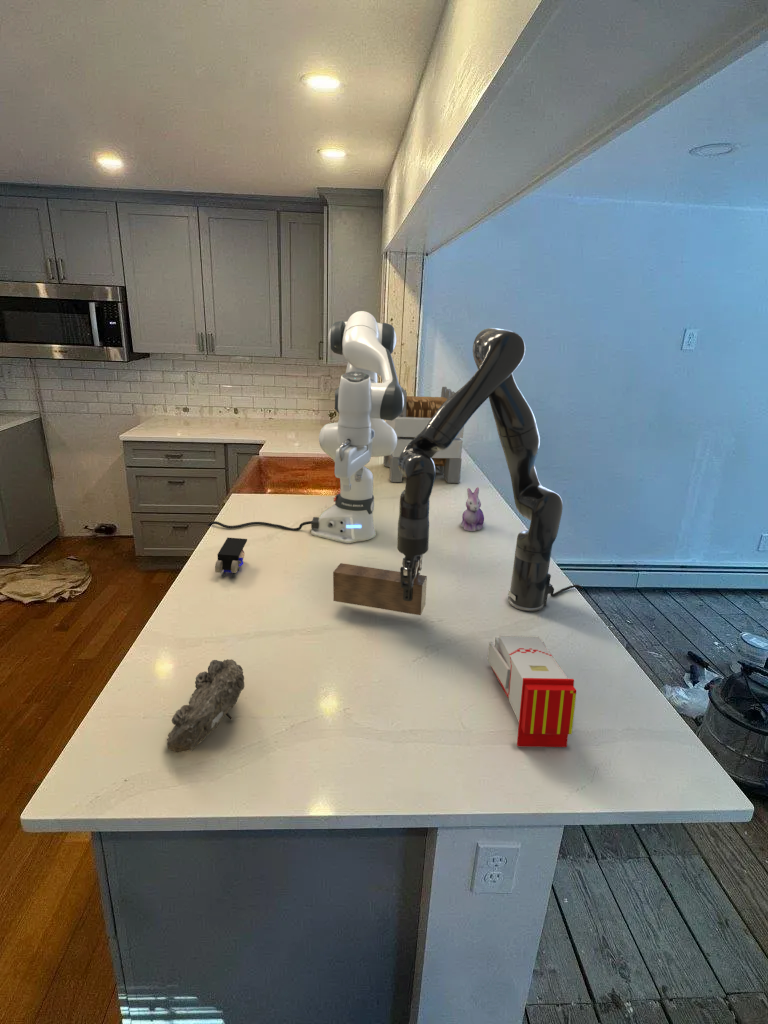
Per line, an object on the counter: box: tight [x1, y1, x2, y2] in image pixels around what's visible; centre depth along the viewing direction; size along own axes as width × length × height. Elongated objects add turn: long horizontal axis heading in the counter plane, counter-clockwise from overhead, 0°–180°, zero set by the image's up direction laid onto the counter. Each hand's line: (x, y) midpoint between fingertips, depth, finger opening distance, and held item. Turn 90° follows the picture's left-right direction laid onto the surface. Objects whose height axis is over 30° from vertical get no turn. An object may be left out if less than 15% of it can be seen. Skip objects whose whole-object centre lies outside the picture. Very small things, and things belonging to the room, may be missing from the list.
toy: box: [486, 635, 577, 748], centre depth 115 cm, size 12×13×30 cm
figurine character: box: [214, 537, 248, 578], centre depth 166 cm, size 7×8×15 cm
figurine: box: [461, 486, 485, 532], centre depth 206 cm, size 9×10×15 cm
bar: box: [332, 562, 428, 616], centre depth 144 cm, size 23×6×8 cm, turn 74°
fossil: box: [166, 658, 245, 754], centre depth 106 cm, size 22×10×15 cm
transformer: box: [383, 385, 465, 484], centre depth 268 cm, size 34×33×41 cm
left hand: (352, 485), depth 154 cm, fingers open, 8 cm apart
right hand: (410, 594), depth 142 cm, fingers closed on bar, 5 cm apart
